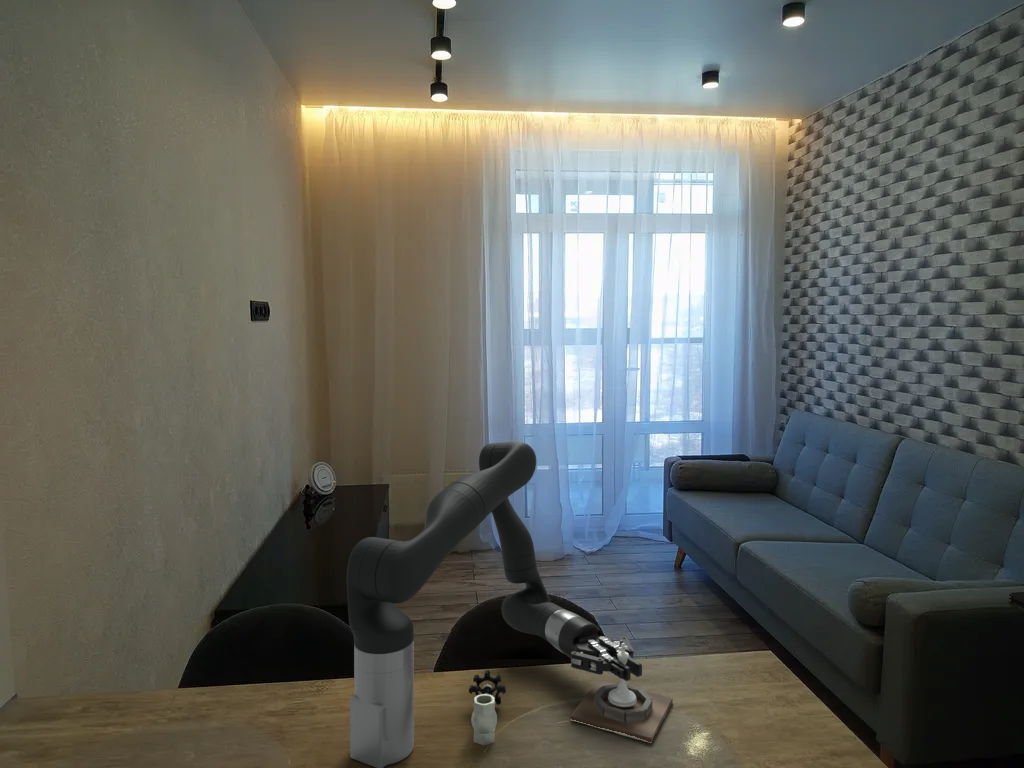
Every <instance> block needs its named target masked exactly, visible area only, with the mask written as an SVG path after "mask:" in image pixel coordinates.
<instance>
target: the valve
mask: <svg viewBox="0 0 1024 768" xmlns="http://www.w3.org/2000/svg"><path fill="white" fill-rule="evenodd" d="M491 674H492V673H491V671H490V670H488V669H486V670H485V671H484V673H483V676H482V677H481V676H480V675H479V674H474V675H473V678H472V681H473V683H475V685H472V684H471V685H470V686H468V693H469V694H471V695H472V694H473V693H474V694H475V696H474V697H473V699H472V703H473V711H472V714H471V719H470V720H471V725H472V728H473V743H476V744H477V745H478V744H479V745H482V746H486V745H490V744H493V743H495V736H496V734H495V733H496V727H497V723H498V715H497V712H496V708H495V706H496V705H497V706H499V705H502V697H501V696H500V693H502V695H504V694H506V692H507V687H506V686H505V685H500V683H501V682H502V676H501V675H500V674H496V675H495V677H492V676H491ZM484 682H491V683H492V684H494V686H492V685H490V684H488V683H487V684H485V685H483V686H482V687H481V684H482V683H484ZM493 693H495V694H494V695H493ZM495 704H496V705H495Z"/></svg>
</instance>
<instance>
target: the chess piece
mask: <svg viewBox="0 0 1024 768" xmlns="http://www.w3.org/2000/svg"><path fill="white" fill-rule="evenodd" d="M626 649H628V646H625V644H624V643H621V647H618V650H619V651H621V652H619V653H617V657H618V660H619V662H621V663H623V664H624V665H626V663H627V660H628V657H629V655H628V653H626V652H625V650H626ZM626 666H627V665H626ZM617 684H618V688H616V689H613V690H611V691H610V692H609V696H608V700H609V701H610V702H611V703H612V704H614V705H616V706H620V707H630V706H633V705H634V704H635V703H636V701H637V700H636V695H635V694H634V693H633V692H632V691H630V690H629V689H627V685H628V683H627V681H625V680H624V679H622V678H619V677H618V683H617Z"/></svg>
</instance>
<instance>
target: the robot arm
mask: <svg viewBox="0 0 1024 768" xmlns="http://www.w3.org/2000/svg"><path fill="white" fill-rule="evenodd" d="M478 466H479V467H478V468H479V471H477V472H473V473H471V474H467V475H465V476H463V477H461V478H458V479H456V480H455V481H453V482H451V483H449V484H448V485H447V486H446V487H445V488H444V489H442V490H441V491H440V492H438V494H437V493H436V495H435V496H434V497H433V498H432V499H431V501H430V503H429V504H428V507H427V510H426V520H425V524H426V525H425V528H424V529H423V530H422V531H421V532H420V533H419V534H417V535H416V536H415V537H413V538H412V539H408V540H405V541H402V540H395V539H394V540H393V539H388V538H383V537H378V536H377V537H376V536H375V537H374V536H369V537H365V538H363V539H361V540H360V541H358V542H357V544H355V546H354V547H353V548H352V551H351V553H350V555H349V559H348V563H347V569H346V592H347V593H346V595H347V609H348V610H347V611H348V612H347V613H348V622H349V623H348V624H349V627H350V630H351V633H352V634H353V647H354V651H353V653H354V654H353V655H354V656H353V657H354V658H353V659H354V660H353V661H354V662H353V663H354V664H353V666H354V667H353V668H354V669H353V670H354V671H353V672H354V673H353V675H354V678H353V679H354V682H353V683H354V684H353V685H354V687H353V688H354V695H353V696H351V697H350V699H349V736H350V738H349V741H350V742H349V743H350V748H349V749H350V758H351V759H353V760H354V761H358V762H360V763H363V764H366V765H368V766H372V767H374V768H385V767H386V766H388V765H393V764H396V763H399V762H400V761H402V760H405V758H407V757H408V756H410V754H411V753H412V752H413V749H414V747H415V705H414V704H415V695H414V693H415V691H414V690H415V688H414V687H415V685H414V684H415V683H414V682H415V680H414V679H415V678H414V676H415V674H414V673H415V671H414V670H415V669H414V667H415V666H414V664H415V663H414V661H415V659H414V658H415V651H414V650H415V643H414V641H415V640H414V638H415V637H414V629H415V628H414V623H413V621H412V619H411V618H410V617H409V616H408V615H407V614H406V613H404V612H403V611H402V610H401V609H400V608H398V606H397V605H396V604H403V603H405V602H407V601H409V600H411V599H412V598H413V597H415V595H416V594H417V593H419V591H420V590H422V588H423V586H425V584H426V583H427V582H428V580H429V579H430V578H431V576H432V575H433V574H434V573H435V571H436V570H437V569H438V568H439V566H441V564H442V563H443V561H444V560H445V559H446V558H447V557H448V556H449V555H450V554H451V552H452V551H454V550H455V548H456V547H457V546H458V545H459V544H460V543H461V542H462V541H463V540H464V539H466V538H467V536H469V535H470V534H471V533H472V532H473V531H475V529H477V527H478V526H479V525H480V524H481V523H482V522H483V521H484V520H485V519H486V518H487V517H488V516H489V515H490V514H491V515H492V517H493V520H494V521H493V522H494V524H495V527H496V530H497V535H498V539H499V542H500V543H499V544H500V550H501V556H502V563H503V569H504V571H503V572H504V575H505V578H506V580H507V581H508V582H509V583H511V584H516V585H517V584H525V588H524V589H522V590H520V591H517V592H514V593H512V594H509V595H508V596H506V597H505V598H504V599H503V601H502V603H501V615H502V618H503V619H504V621H505V623H506V624H507V625H508V626H510V628H512V629H514V630H515V631H518V632H521V633H524V634H528V635H534V636H538V637H541V638H542V639H544V640H545V641H546V642H548V643H549V644H550V645H552V646H553V647H554V648H555V649H557V650H558V651H559V652H561V653H562V654H563V655H566V656H567V657H568V658H570V661H571V662H570V666H571V668H573V669H577V670H581V671H585V672H588V673H591V674H596V675H598V676H599V675H603V674H604V672H605V673H608V674H612V675H615V676H616V677H618V679H619V678H622V679H624V680H625V681H626V682H628V681H631V678H632V677H631V674H632V675H634V676H635V677H636V678H639V677H641V676H643V664H642V663H641V662H639V661H637V660H636V659H634V653H635V650H634V647H633V646H632V644H631V642H630V640H629V638H628V637H626V636H621V637H620V640H614V639H612V638H611V637H608V636H605V635H604V634H603V632H602V631H601V629H600V627H598V626H597V624H595V623H593V622H591V621H589V620H587V619H586V618H584V617H582V616H580V615H578V614H577V613H574V612H573V611H570V610H567V609H565V608H563V607H561V606H559V605H558V604H555V603H553V602H551V598H550V597H549V593H548V592H547V589H546V588H545V585H544V583H543V580H542V578H541V575H540V573H539V570H538V567H537V559H536V554H535V547H534V541H533V539H532V535H531V534H530V531H529V529H528V528H527V526H526V525H525V523H524V522H523V520H522V519H521V518H520V517H519V515H518V514H517V512H516V510H515V509H514V507H513V506H512V504H511V502H510V498H509V497H510V496H512V495H513V494H514V493H515V492H517V491H518V490H521V488H523V487H524V486H526V485H527V484H528V483H529V482H530V481H531V480H532V477H534V473H535V472H536V468H537V455H536V453H535V450H534V449H533V448H532V447H531V445H529V444H527V443H526V442H523V441H504V442H490V443H487V444H485V445H484V446H483V447H482V449H480V453H479V456H478ZM621 643H624V644H625V646H628V649H626V650H625V652H626V653H628V655H629V657H628V660H627V663H626V665H627V666H626V665H624V664H623V663H621V662H619V660H618V657H617V653H619V652H621V651H619V650H618V647H621Z"/></svg>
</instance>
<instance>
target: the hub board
mask: <svg viewBox="0 0 1024 768" xmlns="http://www.w3.org/2000/svg"><path fill="white" fill-rule="evenodd" d="M616 688H618V683H614V682H611V681H607V680H603V679H598V680H597V681H596V682H595V684H594V685H593V686H592V687H591V689H590V690H589V691H588V693H587V694H586V695H585V696H584V698H583V699H582V700H581V701H580V702H579V704H577V706H576V708H575V709H574V710H573V712H571V714H570V716H569V717H570V719H572V720H576V721H579V722H583V723H586V724H590V725H593V726H596V727H600V728H605V729H609V730H612V731H617V732H621V733H625V734H627V735H630V736H635V737H637V738H640V739H643V740H646V741H648V742H652V740H653V738H654V736H655V734H656V733H657V734H658V732H659V730H660V728H661V726H662V725H661V723H662V721H663V719H664V717H665V716H667V715H666V714H668V713H669V711H670V709H671V708H672V705H673V704H674V703H673V702H674V701H673V700H674V699H673V697H672V696H668V695H665V694H664V695H663V694H659V693H655V692H652V691H649V690H648V691H647V690H644V689H643V688H641V687H638V686H635V685H630V684H627V689H629V690H630V691H632V692H633V693H634V694H635V695H636V700H637V701H636V703H635V704H634V705H633V706H630V707H620V706H616V705H614V704H612V703H611V702H610V701H609V700H608V696H609V692H610V691H611V690H613V689H616ZM668 710H669V711H668ZM667 712H668V713H667ZM665 718H666V717H665ZM570 719H569V720H570ZM664 720H665V719H664ZM663 722H664V721H663ZM662 724H663V723H662ZM660 725H661V726H660ZM659 727H660V728H659ZM658 729H659V730H658ZM657 731H658V732H657ZM657 734H656V735H657ZM655 737H656V736H655ZM654 739H655V738H654ZM653 741H654V740H653ZM652 743H653V742H652Z"/></svg>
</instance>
